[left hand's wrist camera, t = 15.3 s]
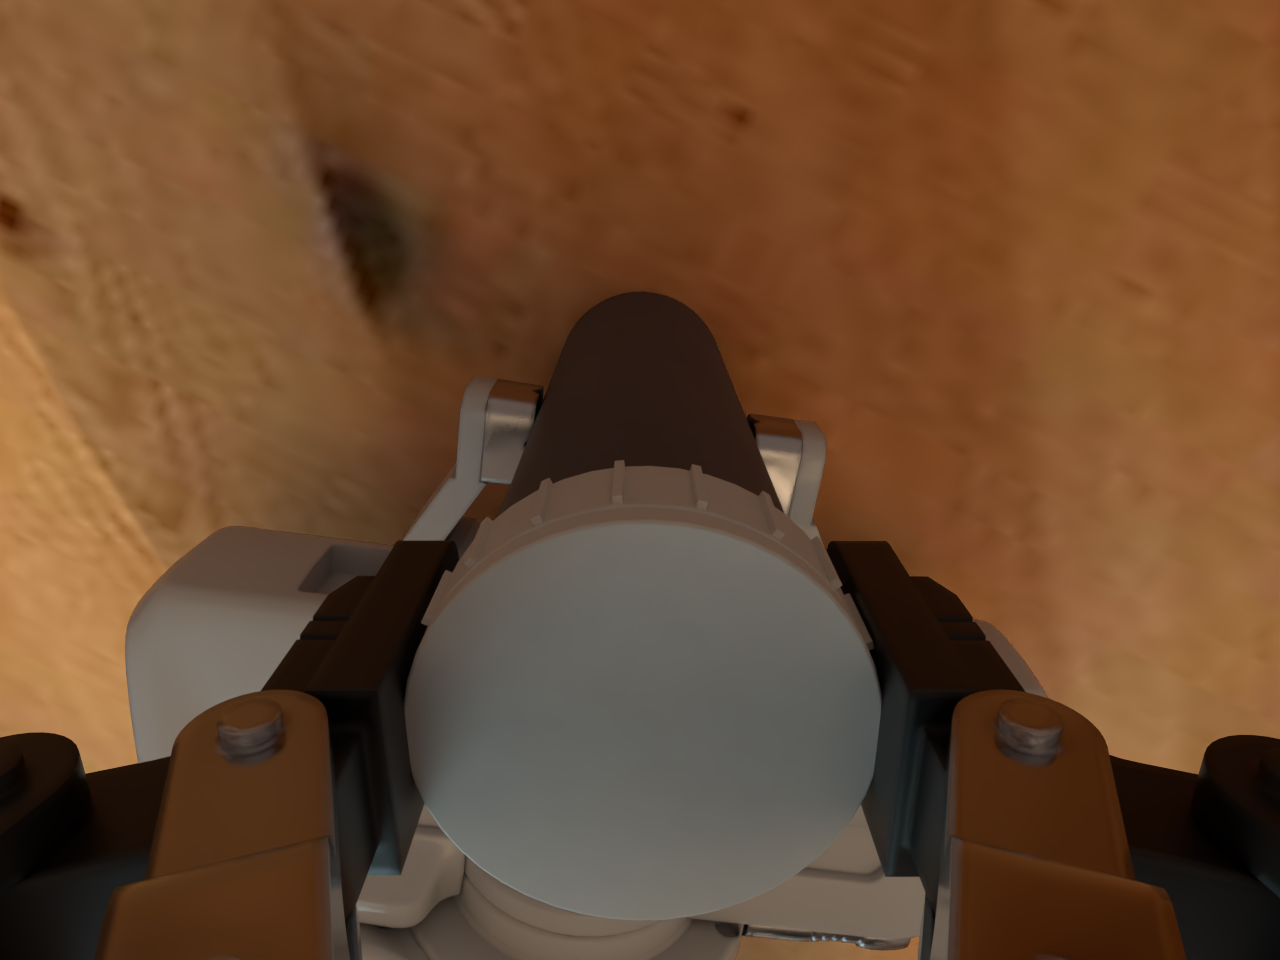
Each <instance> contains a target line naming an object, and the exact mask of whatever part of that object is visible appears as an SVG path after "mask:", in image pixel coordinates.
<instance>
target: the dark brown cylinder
mask: <svg viewBox="0 0 1280 960" xmlns="http://www.w3.org/2000/svg"><path fill="white" fill-rule="evenodd" d="M619 460H624V463H625V467H629V466H657V467H668V468H679V469H684V470H689V471H690V469H691V465H692V464H694V465H698V466H701V469H702V474H707V475H710V476H713V477H716V478H719V479H722V480H724V481H727V482H730V483H733V484H736V485H738V486H740V487H742V488H744V489H745V490H747V491H749V492H751V493H753V494H755V495H757V496H759V495H760V493H761V492H762V491H764V492H766V493H768V494H769V495H770V497H771V499H772V502H773V504H774V507H776V508H777V509H779V510H780V511H782V512H783V513H784V510H783V508H782V506H781V503H780V501H779V498H778V496H777V493H776V491H775V488H774V486H773V483H772V481H771V478H770V476H769V473H768V471H767V468H766V466H765V463H764V461H763V458H762V456H761V453H760V451H759V448H758V446H757V444H756V441H755V439H754V436H753V434H752V431H751V429H750V426H749V424H748V421H747V419H746V416H745V414H744V411H743V409H742V406H741V404H740V401H739V399H738V396H737V394H736V391H735V389H734V386H733V384H732V382H731V379H730V377H729V374H728V372H727V369H726V367H725V364H724V362H723V359H722V357H721V354H720V352H719V349H718V347H717V344H716V342H715V340H714V337H713V335H712V334H711V332H710V330H709V329H708V327H707V326H706V324H705V323H704V322H703V321H702V319H701V318H700V317H699V316H698V315H697V314H696V313H695V312H694V311H692V310H691V309H690V308H688V307H687V306H686V305H684V304H682V303H680V302H679V301H677V300H675V299H672V298H670V297H667V296H664V295H660V294H656V293H648V292H632V293H626V294H621V295H618V296H614V297H611V298H609V299H607V300H605V301H603V302H601V303H599V304H598V305H596V306H594V307H593V308H592V309H590V310H589V311H588V312H587V313H586V314H584V315H583V317H582V318H581V319H580V320H579V321H578V322H577V323H576V325H575V326H574V328H573V329H572V331H571V332H570V334H569V336H568V338H567V340H566V343H565V345H564V348H563V350H562V353H561V356H560V358H559V361H558V363H557V366H556V368H555V371H554V374H553V376H552V379H551V381H550V384H549V387H548V389H547V392H546V394H545V397H544V399H543V402H542V405H541V407H540V410H539V412H538V415H537V417H536V420H535V423H534V425H533V428H532V430H531V433H530V435H529V438H528V441H527V443H526V446H525V448H524V451H523V454H522V456H521V459H520V461H519V464H518V466H517V469H516V472H515V474H514V477H513V479H512V482H511V484H510V487H509V490H508V492H507V495H506V497H505V500H504V502H503V505H502V508H501V510H500V513H499V515H501V514H502V513H503V512H504V511H506V510H507V509H508V508H510V507H511V506H512V505H514V504H515V503H517V502H519V501H520V500H522V499H524V498H525V497H527V496H529V495H530V494H532V493H534V492H535V491H537V490H539V487H540V484H541V481H543V480H545V479H547V478H550V479H551V481H552V483H553V484H554V483H556V482H558V481H560V480H563V479H566V478H570V477H573V476H577V475H580V474H584V473H587V472H591V471H597V470H603V469H609V468H614V462H615V461H619ZM784 514H785V513H784ZM499 515H498V516H499Z"/></svg>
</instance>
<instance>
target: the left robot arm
mask: <svg viewBox="0 0 1280 960" xmlns="http://www.w3.org/2000/svg"><path fill="white" fill-rule="evenodd" d="M827 553H828V556H829V558H830V560H831V562H832V564H833V566H834V568H835V570H836V573H837V575H838V577H839V579H840V581H841V583H842V586H841V587H840V588H841V590H842V592H843V594H844V595H845V594H848V593H850V595H851V597H852V599H853V601H854V603H855V605H856V607H857V609H858V612H859V614H860V616H861V618H862V620H863V622H864V624H865V626H866V628H867V630H868V632H869V635H870V637H871V639H872V641H873V644H874V649H872V650H869V652H870V654H871V656H872V659H873V661H874V664H875V666H876V671H877V675H878V679H879V683H880V687H881V691H882V705H881V716H880V725H879V733H878V741H877V750H876V758H875V766H874V773H873V778H872V781H871V783H870V786H869V788H868V791H867V793H866V796H865V798H864V799H863V801H862V803H861V806H862V809H863V812H864V815H865V818H866V821H867V824H868V827H869V830H870V833H871V836H872V839H873V842H874V845H875V848H876V851H877V854H878V857H879V860H880V863H881V866H882V869H883V871H884V874H885V877H920V880H921V882H922V885H923V887H924V890H925V899H924V905H923V912H922V918H921V925H920V937H919V949H918V960H1280V739H1276V738H1271V737H1264V736H1256V735H1235V736H1228V737H1224V738H1220V739H1218V740H1216V741H1214V742H1212V743H1211V744H1210V745H1209V746H1208V747H1207V749H1206V752H1205V754H1204V757H1203V761H1202V765H1201V768H1200V772H1199V775H1197V774H1192V773H1187V772H1182V771H1178V770H1173V769H1168V768H1163V767H1158V766H1153V765H1148V764H1143V763H1138V762H1133V761H1129V760H1125V759H1121V758H1117V757H1114V756H1111V755H1109V752H1108V747H1107V744H1106V742H1105V739H1104V738H1103V736H1102V734H1101V733H1100V731H1099V730H1098V729H1097V728H1096V727H1095V726H1094V725H1093V724H1092V723H1091V722H1090V721H1089V720H1087V719H1086V718H1085V717H1084V716H1082V715H1081V714H1079V713H1078V712H1076V711H1074V710H1073V709H1071V708H1069V707H1067V706H1065V705H1063V704H1061V703H1059V702H1056V701H1054V700H1051V699H1049V698H1046V697H1042V696H1039V695H1036V694H1031V693H1027V692H1026V691H1025V690H1024V689H1023V687H1022V686H1021V684H1020V683H1019V682H1018V680H1017V679H1016V677H1015V676H1014V675H1013V673H1012V672H1011V670H1010V669H1009V668H1008V666H1007V665H1006V663H1005V662H1004V661H1003V659H1002V658H1001V656H1000V655H999V654H998V652H997V651H996V649H995V648H994V647H993V645H992V644H991V642H990V641H986V635H985V634H984V633H983V631H982V630H981V628H980V627H979V626H978V624H977V623H976V622H973V617H972V616H971V614H970V613H969V612H968V610H967V609H966V607H965V606H964V605H963V603H962V602H961V600H960V599H959V598H958V596H957V595H955V594H954V593H952V592H951V591H949V590H948V589H946V588H945V587H943V586H941V585H940V584H938V583H937V582H935V581H934V580H932V579H931V578H929V577H910V576H909V575H908V573H907V571H906V570H905V568H904V567H903V565H902V564H901V562H900V560H899V559H898V557H897V556H896V554H895V553H894V551H893V549H892V548H891V546H890V545H889V543H888V542H886V541H831V542H830V543H829V545H828V548H827ZM458 561H459V554H458V549H457V546H456V543H455V542H454V541H452V540H427V541H397V543H396V544H395V545H394V547H393V549H392V550H391V552H390V553H389V555H388V557H387V558H386V560H385V561H384V563H383V565H382V566H381V568H380V569H379V571H378V573H377V574H376V576H356V577H355V578H353V579H352V580H350V581H348V582H347V583H345V584H344V585H342V586H341V587H339V588H338V589H336V590H335V591H333V592H332V593H330V594H328V596H327V597H326V599H325V600H324V601H323V603H322V604H321V606H320V607H319V609H318V610H317V611H316V613H315V614H314V616H313V621H309V623H308V624H307V626H306V627H305V628H304V630H303V631H302V633H301V634H300V640H296V641H295V643H294V644H293V645H292V647H291V648H290V650H289V651H288V653H287V654H286V655H285V657H284V658H283V660H282V661H281V663H280V664H279V665H278V667H277V668H276V670H275V671H274V672H273V674H272V675H271V677H270V678H269V680H268V681H267V682H266V684H265V685H264V687H263V688H262V689H261V691H259V692H253V693H249V694H244V695H241V696H238V697H234V698H231V699H229V700H226V701H224V702H221V703H219V704H217V705H215V706H213V707H211V708H209V709H207V710H206V711H204V712H202V713H201V714H199V715H198V716H196V717H195V718H194V719H193V720H191V721H190V722H189V723H188V724H187V725H186V726H185V727H184V728H183V729H182V730H181V731H180V733H179V734H178V736H177V738H176V739H175V742H174V744H173V747H172V752H171V756H168V757H165V758H160V759H156V760H152V761H147V762H142V763H137V764H132V765H127V766H122V767H117V768H112V769H107V770H102V771H98V772H93V773H88V774H85V771H84V768H83V764H82V761H81V757H80V753H79V750H78V748H77V746H76V744H75V743H74V742H73V741H72V740H70V739H68V738H66V737H64V736H61V735H57V734H52V733H24V734H16V735H11V736H6V737H1V738H0V960H362V949H361V937H360V925H359V918H358V912H357V905H356V903H357V901H358V898H359V895H360V893H361V890H362V887H363V885H364V882H365V879H366V877H367V875H401V873H402V870H403V867H404V864H405V861H406V858H407V855H408V852H409V849H410V846H411V843H412V840H413V837H414V834H415V831H416V828H417V825H418V822H419V819H420V815H421V812H422V809H423V806H424V801H423V799H422V797H421V795H420V793H419V791H418V789H417V787H416V785H415V782H414V779H413V776H412V771H411V764H410V757H409V748H408V740H407V731H406V722H405V712H404V696H405V690H406V683H407V678H408V675H409V672H410V669H411V666H412V663H413V660H414V657H415V654H416V652H417V649H418V647H419V645H420V643H421V640H422V638H423V636H424V634H425V631H426V629H427V627H428V626H426V625H424V624H422V623H421V621H422V619H423V617H424V615H425V613H426V610H427V608H428V606H429V604H430V602H431V600H432V597H433V595H434V593H435V591H436V589H437V587H438V585H439V582H440V580H441V578H442V576H443V574H444V572H445V570H448V571H450V572H452V573H453V571H454V569H455V567H456V565H457V563H458Z"/></svg>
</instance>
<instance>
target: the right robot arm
mask: <svg viewBox="0 0 1280 960" xmlns="http://www.w3.org/2000/svg"><path fill="white" fill-rule="evenodd" d="M542 402H543V386H540V385H534V384H527V383H521V382H514V381H508V380H501V379H497V378H491V377H480V376H474V377H473V379H472V380H471V381H470V383H469V384H468V386H467V387H466V388H465V392H464V396H463V400H462V405H461V411H460V421H459V435H458V449H457V462H456V463H455V464H454V466H453V467H452V468H451V470H450V471H449V472H448V474H447V475H446V476H445V478H444V479H443V480H442V482H441V483H440V485H439V486H438V487H437V489H436V490H435V491H434V493H433V494H432V495H431V497H430V498H429V499H428V501H427V502H426V503H425V505H424V506H423V507H422V509H421V510H420V511H419V513H418V515H417V516H416V518H415V520H414V521H413V523H412V524H411V526H410V528H409V529H408V531H407V533H406V534H405V536H404V537H403V539H402V541H427V540H452V541H454V542H455V543H456V546H457V549H458V554H459V560H460V559H461V557H462V556H463V554H464V553H465V551H466V550H467V549H468V547H469V546H470V544H471V543H472V542H473V541H474V538H475V536H476V534H477V531H478V529H479V523H478V522H477V521H476V520H475V519H471V518H464V517H462V516H463V515H464V514H465V512H466V511H467V510H468V508H469V507H470V506H471V504H472V503H473V502H474V500H475V499H476V498H477V496H478V495H479V494H480V492H481V491H482V490H483V488H484V487H485V486H486V484H487V482H492V483H501V484H511V482H512V479H513V477H514V474H515V472H516V469H517V466H518V464H519V461H520V459H521V456H522V454H523V451H524V448H525V446H526V443H527V441H528V438H529V435H530V433H531V430H532V428H533V425H534V423H535V420H536V417H537V415H538V412H539V410H540V407H541V405H542ZM747 421H748V424H749V426H750V429H751V431H752V434H753V436H754V439H755V441H756V444H757V446H758V448H759V451H760V453H761V456H762V458H763V461H764V463H765V466H766V468H767V471H768V473H769V476H770V478H771V481H772V483H773V486H774V488H775V491H776V493H777V496H778V498H779V501H780V503H781V506H782V508H783V510H784V513H785V515H787V516H788V517H789V518H790V519H791V520H792V521H793V522H794V523H795V524H796V525H798V526H799V527H800V528H801V529H802V530H803V531H804V532H805V533H806V535H807V536H808V537H809V538H810V539H811V540H812V539H813V538H815V537H816V536H818V537H819V539H820V540H821V541H822V539H821V536H820V534H819V531H818V528H817V525H816V523H815V521H814V519H813V513H814V509H815V504H816V500H817V495H818V491H819V487H820V482H821V478H822V473H823V469H824V465H825V460H826V438H825V436H824V434H823V433H822V431H821V430H820V428H819V427H818V425H817V424H816V422H810V421H802V420H795V419H788V418H780V417H772V416H764V415H756V414H749V415H748V417H747ZM822 543H823V542H822ZM393 547H394V546H393V545H385V544H377V543H369V542H361V541H353V540H345V539H337V538H329V537H322V536H314V535H306V534H298V533H290V532H282V531H274V530H267V529H260V528H253V527H244V526H229V527H225V528H222V529H220V530H218V531H216V532H214V533H213V534H211V535H210V536H209V537H207V538H206V539H205V540H203V541H202V542H201V543H200V544H198V545H197V546H196V547H195V548H193V549H192V550H191V551H189V552H188V553H187V554H186V555H184V556H183V557H182V558H180V559H179V560H178V561H177V562H176V563H175V564H173V565H172V566H171V567H170V568H169V569H168V570H167V571H166V572H165V573H164V574H163V575H162V576H161V577H160V578H159V579H158V580H157V581H156V582H155V583H154V584H153V585H152V586H151V588H150V589H149V590H148V591H147V592H146V593H145V595H144V596H143V597H142V598H141V600H140V601H139V602H138V604H137V605H136V607H135V609H134V610H133V612H132V615H131V617H130V619H129V622H128V625H127V631H126V641H125V661H126V676H127V686H128V695H129V704H130V712H131V719H132V726H133V733H134V740H135V746H136V751H137V757H138V763H142V762H147V761H152V760H156V759H160V758H165V757H168V756H171V752H172V747H173V744H174V742H175V739H176V738H177V736H178V734H179V733H180V731H181V730H182V729H183V728H184V727H185V726H186V725H187V724H188V723H189V722H190V721H191V720H193V719H194V718H195V717H196V716H198V715H199V714H201V713H202V712H204V711H206V710H207V709H209V708H211V707H213V706H215V705H217V704H219V703H221V702H224V701H226V700H229V699H231V698H234V697H238V696H241V695H244V694H249V693H253V692H259V691H261V689H262V688H263V687H264V685H265V684H266V682H267V681H268V680H269V678H270V677H271V675H272V674H273V672H274V671H275V670H276V668H277V667H278V665H279V664H280V663H281V661H282V660H283V658H284V657H285V655H286V654H287V653H288V651H289V650H290V648H291V647H292V645H293V644H294V643H295V641H296V640H300V634H301V633H302V631H303V630H304V628H305V627H306V626H307V624H308V623H309V621H313V616H314V614H315V613H316V611H317V610H318V609H319V607H320V606H321V604H322V603H323V601H324V600H325V599H326V597H327V596H328V594H330V593H332V592H333V591H335V590H336V589H338V588H339V587H341V586H342V585H344V584H345V583H347V582H348V581H350V580H352V579H353V578H355V577H356V576H376V574H377V573H378V571H379V569H380V568H381V566H382V565H383V563H384V561H385V560H386V558H387V557H388V555H389V553H390V552H391V550H392V549H393ZM973 622H976V623H977V624H978V626H979V627H980V628H981V630H982V631H983V633H984V634H985V635H986V641H990V642H991V644H992V645H993V647H994V648H995V649H996V651H997V652H998V654H999V655H1000V656H1001V658H1002V659H1003V661H1004V662H1005V663H1006V665H1007V666H1008V668H1009V669H1010V670H1011V672H1012V673H1013V675H1014V676H1015V677H1016V679H1017V680H1018V682H1019V683H1020V684H1021V686H1022V687H1023V689H1024V690H1025V691H1026V692H1027V693H1031V694H1036V695H1039V696H1042V697H1046V698H1048V696H1047V694H1046V692H1045V691H1044V689H1043V687H1042V686H1041V684H1040V682H1039V681H1038V679H1037V677H1036V676H1035V675H1034V673H1033V672H1032V670H1031V669H1030V668H1029V666H1028V665H1027V663H1026V662H1025V661H1024V659H1023V658H1022V657H1021V656H1020V655H1019V653H1018V652H1017V651H1016V650H1015V648H1014V647H1013V646H1012V645H1011V644H1010V642H1009V641H1008V640H1007V639H1006V638H1005V636H1004V635H1003V634H1002V633H1001V632H1000V631H999V630H998V629H997V628H995V627H994V626H993V625H991V624H990V623H987V622H985V621H980V620H976V619H973ZM924 899H925V890H924V887H923V885H922V882H921V880H920V877H885V874H884V871H883V869H882V866H881V863H880V860H879V857H878V854H877V851H876V848H875V845H874V842H873V839H872V836H871V833H870V830H869V827H868V824H867V821H866V818H865V815H864V812H863V809H862V806H861V804H860V806H859V808H858V810H857V811H856V813H855V815H854V816H853V818H852V820H851V821H850V822H849V823H848V825H847V826H846V827H845V829H844V830H843V831H842V832H841V834H840V835H839V836H838V838H837V839H836V840H835V841H834V842H833V843H832V844H831V845H830V846H829V847H828V848H827V849H826V850H825V851H824V852H823V853H822V854H821V855H820V856H819V857H818V858H817V859H815V860H814V861H813V862H811V863H810V864H809V865H808V866H806V867H805V868H804V869H802V870H801V871H800V872H799V873H797V874H796V875H794V876H793V877H791V878H789V879H788V880H786V881H784V882H783V883H781V884H780V885H778V886H776V887H775V888H773V889H771V890H769V891H767V892H765V893H762V894H760V895H758V896H756V897H754V898H752V899H749V900H747V901H744V902H742V903H739V904H736V905H733V906H730V907H727V908H724V909H721V910H717V911H713V912H708V913H704V914H700V915H695V916H689V917H681V918H673V919H666V920H624V919H610V918H603V917H597V916H591V915H585V914H580V913H576V912H573V911H569V910H565V909H562V908H558V907H555V906H552V905H549V904H547V903H544V902H541V901H539V900H536V899H534V898H531V897H529V896H526V895H525V894H523V893H521V892H519V891H517V890H515V889H513V888H511V887H509V886H507V885H506V884H504V883H502V882H500V881H499V880H497V879H496V878H494V877H493V876H492V875H490V874H489V873H487V872H486V871H484V870H483V869H481V868H480V867H479V866H477V865H476V864H475V863H474V862H473V861H472V860H471V859H469V858H468V857H467V856H466V855H465V854H464V853H463V852H461V851H460V850H459V849H458V848H457V847H456V845H455V844H454V843H453V842H452V841H451V840H450V839H449V838H448V836H447V835H446V834H445V833H444V832H443V831H442V830H441V828H440V827H439V825H438V824H437V822H436V821H435V819H434V818H433V816H432V815H431V813H430V812H429V811H428V809H427V807H426V805H425V803H424V806H423V809H422V812H421V815H420V819H419V822H418V825H417V828H416V831H415V834H414V837H413V840H412V843H411V846H410V849H409V852H408V855H407V858H406V861H405V864H404V867H403V870H402V873H401V875H367V877H366V879H365V882H364V885H363V887H362V890H361V893H360V895H359V898H358V901H357V903H356V905H357V912H358V918H359V925H360V937H361V949H362V960H735V959H736V955H737V951H738V947H739V943H740V939H741V936H742V935H743V936H751V937H758V938H768V939H778V940H787V941H804V942H809V941H812V942H814V941H820V940H821V941H830V940H831V941H838V942H839V941H841V942H846V943H855V944H856V946H858V947H862V948H866V949H872V950H898V949H903V948H906V947H907V946H908V945H909V943H910V939H911V938H912V937H917V936H920V925H921V918H922V912H923V905H924Z"/></svg>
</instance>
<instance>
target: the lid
mask: <svg viewBox="0 0 1280 960" xmlns="http://www.w3.org/2000/svg"><path fill="white" fill-rule="evenodd" d="M841 586H842V583H841V581H840V579H839V577H838V575H837V573H836V570H835V568H834V566H833V564H832V562H831V560H830V558H829V556H828V553H827V551H826V549H825V547H824V545H823V543H822V541H821V540H820V539H819V537H818V536H816V537H815V538H813V539H812V540H811V539H810V538H809V537H808V536H807V535H806V533H805V532H804V531H803V530H802V529H801V528H800V527H799V526H798V525H796V524H795V523H794V522H793V521H792V520H791V519H790V518H789V517H788V516H787V515H785V514H784V513H783V512H782V511H780V510H779V509H777V508H776V507H774V504H773V502H772V499H771V497H770V495H769V494H768V493H766V492H764V491H762V492H761V493H760V495H759V496H757V495H755V494H753V493H751V492H749V491H747V490H745V489H744V488H742V487H740V486H738V485H736V484H733V483H730V482H727V481H724V480H722V479H719V478H716V477H713V476H710V475H707V474H702V469H701V466H698V465H694V464H692V465H691V469H690V471H689V470H684V469H679V468H668V467H657V466H629V467H625V463H624V460H619V461H615V462H614V468H609V469H603V470H597V471H591V472H587V473H584V474H580V475H577V476H573V477H570V478H566V479H563V480H560V481H558V482H556V483H554V484H553V483H552V481H551V479H550V478H547V479H545V480H543V481H541V484H540V487H539V490H537V491H535V492H534V493H532V494H530V495H529V496H527V497H525V498H524V499H522V500H520V501H519V502H517V503H515V504H514V505H512V506H511V507H510V508H508V509H507V510H506V511H504V512H503V513H502V514H501V515H499V516H498V517H497V518H496V519H494V520H493V521H492V520H491V519H490V518H489V517H486V518H485V519H484V520H483V521H482V522H481V524H480V527H479V529H478V531H477V534H476V536H475V538H474V541H473V542H472V543H471V544H470V546H469V547H468V549H467V550H466V551H465V553H464V554H463V556H462V557H461V559H460V560H459V561H458V563H457V565H456V567H455V569H454V571H453V573H452V572H450V571H448V570H445V572H444V574H443V576H442V578H441V580H440V582H439V585H438V587H437V589H436V591H435V593H434V595H433V597H432V600H431V602H430V604H429V606H428V608H427V610H426V613H425V615H424V617H423V619H422V621H421V623H422V624H424V625H426V626H428V627H427V629H426V631H425V634H424V636H423V638H422V640H421V643H420V645H419V647H418V649H417V652H416V654H415V657H414V660H413V663H412V666H411V669H410V672H409V675H408V678H407V683H406V690H405V696H404V712H405V722H406V731H407V740H408V748H409V757H410V764H411V771H412V776H413V779H414V782H415V785H416V787H417V789H418V791H419V793H420V795H421V797H422V799H423V801H424V803H425V805H426V807H427V809H428V811H429V812H430V813H431V815H432V816H433V818H434V819H435V821H436V822H437V824H438V825H439V827H440V828H441V830H442V831H443V832H444V833H445V834H446V835H447V836H448V838H449V839H450V840H451V841H452V842H453V843H454V844H455V845H456V847H457V848H458V849H459V850H460V851H461V852H463V853H464V854H465V855H466V856H467V857H468V858H469V859H471V860H472V861H473V862H474V863H475V864H476V865H477V866H479V867H480V868H481V869H483V870H484V871H486V872H487V873H489V874H490V875H492V876H493V877H494V878H496V879H497V880H499V881H500V882H502V883H504V884H506V885H507V886H509V887H511V888H513V889H515V890H517V891H519V892H521V893H523V894H525V895H526V896H529V897H531V898H534V899H536V900H539V901H541V902H544V903H547V904H549V905H552V906H555V907H558V908H562V909H565V910H569V911H573V912H576V913H580V914H585V915H591V916H597V917H603V918H610V919H624V920H666V919H673V918H681V917H689V916H695V915H700V914H704V913H708V912H713V911H717V910H721V909H724V908H727V907H730V906H733V905H736V904H739V903H742V902H744V901H747V900H749V899H752V898H754V897H756V896H758V895H760V894H762V893H765V892H767V891H769V890H771V889H773V888H775V887H776V886H778V885H780V884H781V883H783V882H784V881H786V880H788V879H789V878H791V877H793V876H794V875H796V874H797V873H799V872H800V871H801V870H802V869H804V868H805V867H806V866H808V865H809V864H810V863H811V862H813V861H814V860H815V859H817V858H818V857H819V856H820V855H821V854H822V853H823V852H824V851H825V850H826V849H827V848H828V847H829V846H830V845H831V844H832V843H833V842H834V841H835V840H836V839H837V838H838V836H839V835H840V834H841V832H842V831H843V830H844V829H845V827H846V826H847V825H848V823H849V822H850V821H851V820H852V818H853V816H854V815H855V813H856V811H857V810H858V808H859V806H860V804H861V803H862V801H863V799H864V798H865V796H866V793H867V791H868V788H869V786H870V783H871V781H872V778H873V773H874V766H875V758H876V750H877V741H878V733H879V725H880V716H881V705H882V691H881V687H880V683H879V679H878V675H877V671H876V666H875V664H874V661H873V659H872V656H871V654H870V652H869V650H872V649H874V644H873V641H872V639H871V637H870V635H869V632H868V630H867V628H866V626H865V624H864V622H863V620H862V618H861V616H860V614H859V612H858V609H857V607H856V605H855V603H854V601H853V599H852V597H851V595H850V593H848V594H845V595H844V594H843V592H842V590H841V588H840V587H841Z"/></svg>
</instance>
